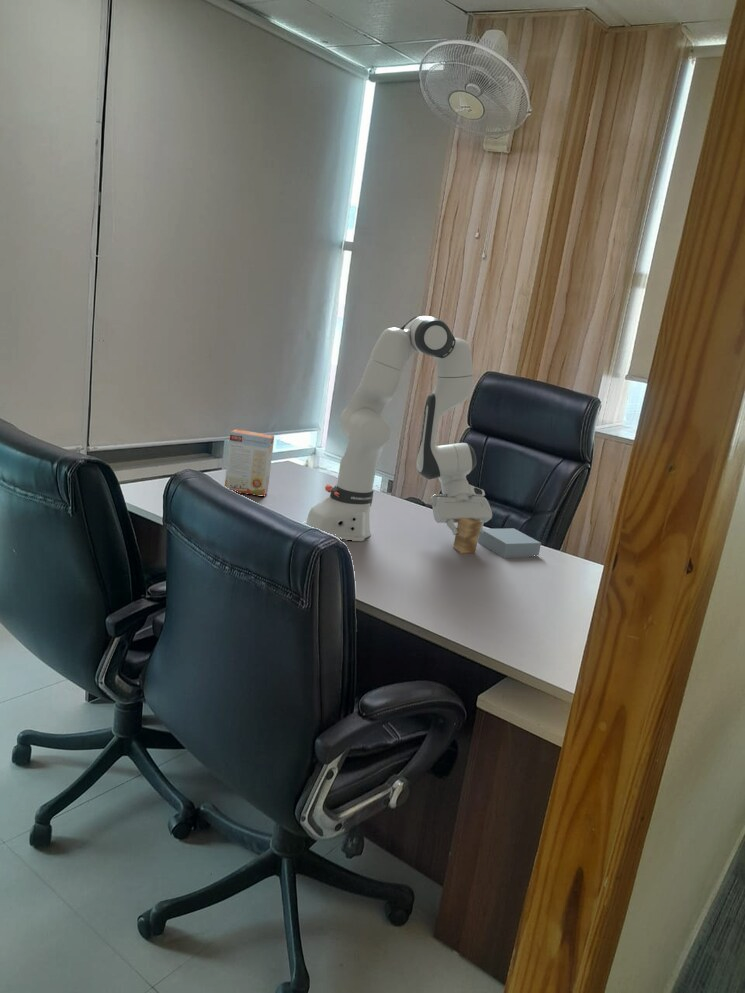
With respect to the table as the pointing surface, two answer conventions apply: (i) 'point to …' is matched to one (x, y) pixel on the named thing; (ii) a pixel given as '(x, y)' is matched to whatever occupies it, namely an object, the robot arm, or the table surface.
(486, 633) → the table surface
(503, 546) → the grey base block
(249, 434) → the cracker box
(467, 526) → the oak block
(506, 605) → the table surface
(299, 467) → the table surface
